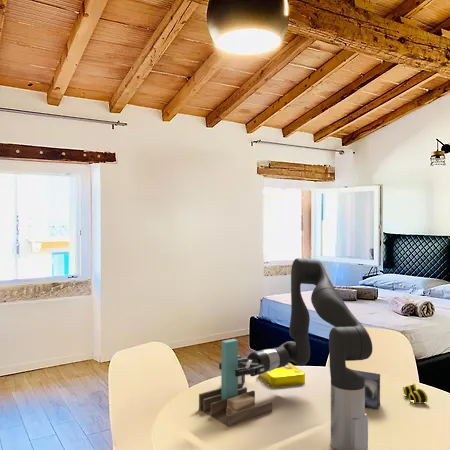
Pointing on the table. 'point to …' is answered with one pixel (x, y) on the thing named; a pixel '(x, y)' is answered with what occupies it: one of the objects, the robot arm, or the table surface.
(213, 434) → the table surface
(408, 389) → the opera glasses
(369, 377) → the small box
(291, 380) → the element tile
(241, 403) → the upper oak offcut
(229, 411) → the lower oak offcut
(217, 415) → the wooden rack
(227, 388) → the teal board
